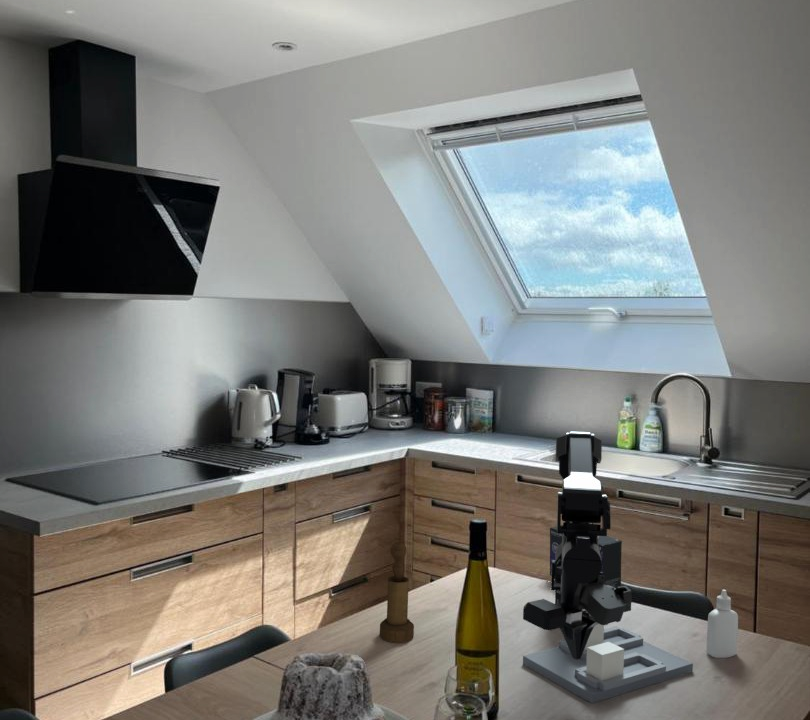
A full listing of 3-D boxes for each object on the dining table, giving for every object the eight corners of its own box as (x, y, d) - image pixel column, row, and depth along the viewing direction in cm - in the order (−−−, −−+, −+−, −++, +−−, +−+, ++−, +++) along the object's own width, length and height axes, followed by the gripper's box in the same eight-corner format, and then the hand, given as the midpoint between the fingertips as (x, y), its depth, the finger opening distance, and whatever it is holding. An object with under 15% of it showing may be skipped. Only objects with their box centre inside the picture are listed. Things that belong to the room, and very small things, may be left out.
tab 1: (569, 647, 151) (569, 620, 151) (589, 642, 154) (590, 615, 154) (582, 654, 148) (583, 627, 148) (603, 649, 151) (604, 622, 151)
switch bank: (522, 663, 148) (522, 649, 148) (619, 638, 160) (620, 625, 160) (592, 703, 133) (592, 688, 133) (693, 671, 146) (693, 657, 146)
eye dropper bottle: (702, 648, 156) (705, 585, 156) (734, 650, 156) (737, 587, 155) (708, 658, 152) (711, 593, 151) (740, 660, 151) (743, 595, 151)
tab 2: (586, 676, 139) (587, 647, 139) (607, 670, 142) (608, 641, 142) (601, 685, 136) (602, 655, 136) (623, 678, 139) (624, 648, 139)
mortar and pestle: (419, 640, 157) (421, 546, 156) (386, 645, 155) (388, 549, 154) (406, 628, 163) (408, 537, 162) (374, 632, 161) (376, 539, 160)
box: (547, 576, 198) (549, 526, 197) (568, 571, 201) (569, 522, 201) (601, 597, 184) (602, 543, 183) (622, 592, 187) (623, 539, 187)
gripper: (571, 587, 123) (567, 691, 124) (659, 568, 133) (655, 665, 133) (522, 566, 132) (519, 663, 133) (607, 550, 142) (604, 640, 143)
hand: (576, 658), depth 135 cm, fingers closed
